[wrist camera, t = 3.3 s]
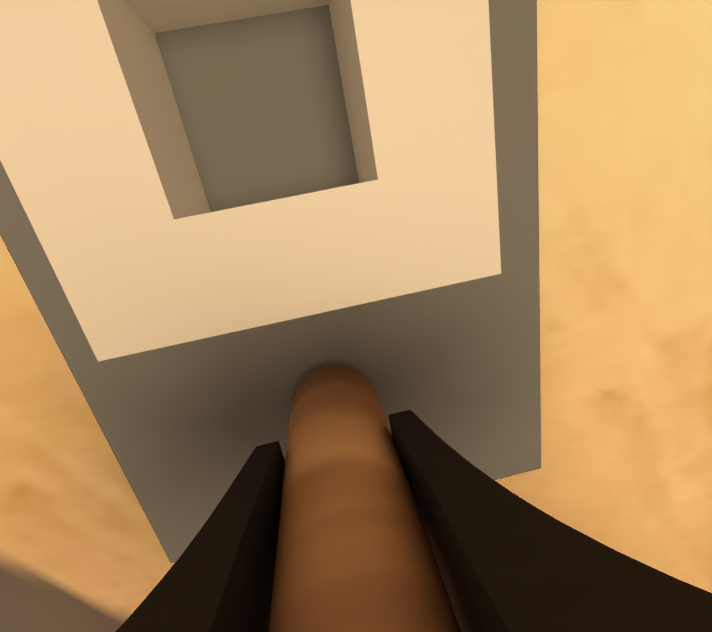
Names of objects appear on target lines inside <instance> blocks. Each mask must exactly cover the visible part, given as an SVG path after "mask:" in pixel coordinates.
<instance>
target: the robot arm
mask: <svg viewBox="0 0 712 632" xmlns="http://www.w3.org/2000/svg"><path fill="white" fill-rule="evenodd" d="M388 417H389V422H390V428H391V433H392V438H393V441H394V443H395V446H396V449H397V452H398V455H399V458H400V461H401V463H402V466H403V469H404V471H405V474H406V477H407V480H408V482H409V485H410V488H411V491H412V494H413V497H414V500H415V502H416V505H417V508H418V511H419V514H420V517H421V519H422V522H423V525H424V528H425V531H426V534H427V536H428V539H429V542H430V545H431V548H432V551H433V553H434V556H435V559H436V562H437V565H438V568H439V570H440V573H441V576H442V579H443V582H444V585H445V588H446V590H447V593H448V596H449V599H450V602H451V605H452V607H453V610H454V613H455V616H456V619H457V622H458V624H459V627H460V630H461V632H712V593H710V592H707V591H705V590H703V589H700V588H698V587H695V586H693V585H690V584H688V583H685V582H683V581H681V580H678V579H676V578H674V577H671V576H669V575H667V574H665V573H663V572H660V571H658V570H656V569H654V568H652V567H650V566H647V565H645V564H643V563H641V562H639V561H637V560H635V559H632V558H630V557H628V556H626V555H624V554H622V553H620V552H618V551H616V550H614V549H612V548H609V547H607V546H606V545H604V544H602V543H600V542H598V541H596V540H594V539H592V538H590V537H588V536H587V535H585V534H583V533H581V532H579V531H577V530H575V529H573V528H571V527H569V526H568V525H566V524H564V523H562V522H560V521H558V520H556V519H555V518H553V517H551V516H550V515H548V514H546V513H544V512H543V511H541V510H539V509H538V508H536V507H534V506H533V505H531V504H530V503H528V502H526V501H525V500H523V499H522V498H520V497H518V496H517V495H515V494H514V493H512V492H511V491H509V490H508V489H506V488H505V487H503V486H502V485H500V484H499V483H498V482H496V481H495V480H493V479H492V478H490V477H489V476H488V475H486V474H485V473H484V472H482V471H481V470H480V469H478V468H477V467H475V466H474V465H473V464H472V463H470V462H469V461H468V460H466V459H465V458H464V457H463V456H462V455H460V454H459V453H458V452H457V451H455V450H454V449H453V448H452V447H451V446H449V445H448V444H447V443H446V442H445V441H444V440H442V439H441V438H440V437H439V436H438V435H437V434H436V433H435V432H434V431H432V430H431V429H430V428H429V427H428V426H427V425H426V424H425V423H424V422H423V421H422V420H421V419H420V418H419V417H418V416H417V415H416V414H415V413H414V412H413V411H411V410H406V411H402V412H398V413H394V414H389V415H388ZM284 468H285V459H284V456H283V453H282V450H281V447H280V443H279V441H276V442H272V443H268V444H264V445H260V446H256V447H255V449H254V450H253V452H252V453H251V455H250V456H249V458H248V459H247V461H246V462H245V464H244V466H243V467H242V469H241V470H240V472H239V473H238V475H237V476H236V478H235V479H234V481H233V483H232V484H231V486H230V487H229V489H228V490H227V492H226V493H225V495H224V496H223V498H222V499H221V501H220V502H219V503H218V505H217V506H216V508H215V509H214V511H213V512H212V514H211V515H210V517H209V518H208V520H207V521H206V522H205V524H204V525H203V526H202V528H201V529H200V530H199V532H198V533H197V535H196V536H195V537H194V539H193V540H192V541H191V543H190V544H189V545H188V547H187V548H186V549H185V551H184V552H183V554H182V555H181V556H180V557H179V559H178V560H177V561H176V562H175V564H174V565H173V566H172V567H171V569H170V570H169V571H168V572H167V574H166V575H165V576H164V577H163V579H162V580H161V581H160V582H159V583H158V584H157V586H156V587H155V588H154V589H153V590H152V591H151V593H150V594H149V595H148V596H147V597H146V599H145V600H144V601H143V602H142V603H141V604H140V606H139V607H138V608H137V609H136V610H135V611H134V612H133V614H132V615H131V616H130V617H129V618H128V619H127V620H126V621H125V622H124V623H123V624H122V625H121V627H120V628H119V629H118V630H117V631H116V632H268V631H269V621H270V611H271V601H272V591H273V580H274V570H275V560H276V550H277V540H278V530H279V519H280V509H281V499H282V489H283V479H284Z"/></svg>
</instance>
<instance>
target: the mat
mask: <svg viewBox="0 0 712 632" xmlns="http://www.w3.org/2000/svg"><path fill="white" fill-rule="evenodd" d="M488 2H489V23H490V44H491V65H492V87H493V108H494V129H495V151H496V172H497V193H498V214H499V236H500V257H501V274H497V275H492V276H488V277H483V278H479V279H474V280H470V281H465V282H460V283H456V284H451V285H447V286H442V287H437V288H433V289H428V290H424V291H419V292H415V293H410V294H405V295H401V296H396V297H392V298H387V299H382V300H378V301H373V302H369V303H364V304H360V305H355V306H350V307H346V308H341V309H337V310H332V311H327V312H323V313H318V314H314V315H309V316H305V317H300V318H295V319H291V320H286V321H282V322H277V323H272V324H268V325H263V326H259V327H254V328H250V329H245V330H240V331H236V332H231V333H227V334H222V335H217V336H213V337H208V338H204V339H199V340H195V341H190V342H185V343H181V344H176V345H172V346H167V347H162V348H158V349H153V350H149V351H144V352H140V353H135V354H130V355H126V356H121V357H117V358H112V359H107V360H103V361H98V360H97V358H96V356H95V354H94V352H93V350H92V348H91V346H90V344H89V342H88V340H87V338H86V336H85V334H84V332H83V330H82V327H81V325H80V323H79V321H78V319H77V317H76V315H75V313H74V311H73V309H72V307H71V305H70V303H69V301H68V299H67V297H66V295H65V292H64V290H63V288H62V286H61V284H60V282H59V280H58V278H57V276H56V274H55V272H54V270H53V268H52V266H51V264H50V262H49V259H48V257H47V255H46V253H45V251H44V249H43V247H42V245H41V243H40V241H39V239H38V237H37V235H36V233H35V231H34V229H33V227H32V224H31V222H30V220H29V218H28V216H27V214H26V212H25V210H24V208H23V206H22V204H21V202H20V200H19V198H18V196H17V194H16V192H15V189H14V187H13V185H12V183H11V181H10V179H9V177H8V175H7V173H6V171H5V169H4V167H3V165H2V163H1V161H0V235H1V237H2V239H3V241H4V243H5V245H6V247H7V249H8V251H9V253H10V255H11V256H12V258H13V260H14V262H15V264H16V266H17V268H18V270H19V272H20V274H21V276H22V278H23V280H24V281H25V283H26V285H27V287H28V289H29V291H30V293H31V295H32V297H33V299H34V301H35V303H36V305H37V306H38V308H39V310H40V312H41V314H42V316H43V318H44V320H45V322H46V324H47V326H48V328H49V330H50V332H51V333H52V335H53V337H54V339H55V341H56V343H57V345H58V347H59V349H60V351H61V353H62V355H63V357H64V358H65V360H66V362H67V364H68V366H69V368H70V370H71V372H72V374H73V376H74V378H75V380H76V382H77V383H78V385H79V387H80V389H81V391H82V393H83V395H84V397H85V399H86V401H87V403H88V405H89V407H90V408H91V410H92V412H93V414H94V416H95V418H96V420H97V422H98V424H99V426H100V428H101V430H102V432H103V433H104V435H105V437H106V439H107V441H108V443H109V445H110V447H111V449H112V451H113V453H114V455H115V457H116V458H117V460H118V462H119V464H120V466H121V468H122V470H123V472H124V474H125V476H126V478H127V480H128V482H129V483H130V485H131V487H132V489H133V491H134V493H135V495H136V497H137V499H138V501H139V503H140V505H141V507H142V508H143V510H144V512H145V514H146V516H147V518H148V520H149V522H150V524H151V526H152V528H153V530H154V532H155V533H156V535H157V537H158V539H159V541H160V543H161V545H162V547H163V549H164V551H165V553H166V555H167V557H168V558H169V560H170V562H171V563H173V562H176V561H177V560H178V559H179V557H180V556H181V555H182V554H183V552H184V551H185V549H186V548H187V547H188V545H189V544H190V543H191V541H192V540H193V539H194V537H195V536H196V535H197V533H198V532H199V530H200V529H201V528H202V526H203V525H204V524H205V522H206V521H207V520H208V518H209V517H210V515H211V514H212V512H213V511H214V509H215V508H216V506H217V505H218V503H219V502H220V501H221V499H222V498H223V496H224V495H225V493H226V492H227V490H228V489H229V487H230V486H231V484H232V483H233V481H234V479H235V478H236V476H237V475H238V473H239V472H240V470H241V469H242V467H243V466H244V464H245V462H246V461H247V459H248V458H249V456H250V455H251V453H252V452H253V450H254V449H255V447H256V446H260V445H264V444H268V443H272V442H276V441H279V443H280V447H281V450H282V453H283V456H284V459H285V458H286V448H287V438H288V428H289V418H290V407H291V399H292V395H293V392H294V390H295V388H296V387H297V385H298V384H299V382H300V381H301V380H302V379H303V378H304V377H305V376H307V375H308V374H309V373H311V372H313V371H315V370H317V369H319V368H322V367H326V366H333V365H341V366H347V367H351V368H354V369H356V370H358V371H360V372H362V373H363V374H365V375H366V376H367V377H368V378H369V379H370V380H371V382H372V383H373V385H374V387H375V389H376V392H377V394H378V397H379V400H380V403H381V406H382V409H383V412H384V414H385V417H386V420H387V423H388V426H389V429H390V431H391V428H390V422H389V417H388V415H389V414H394V413H398V412H402V411H406V410H411V411H413V412H414V413H415V414H416V415H417V416H418V417H419V418H420V419H421V420H422V421H423V422H424V423H425V424H426V425H427V426H428V427H429V428H430V429H431V430H432V431H434V432H435V433H436V434H437V435H438V436H439V437H440V438H441V439H442V440H444V441H445V442H446V443H447V444H448V445H449V446H451V447H452V448H453V449H454V450H455V451H457V452H458V453H459V454H460V455H462V456H463V457H464V458H465V459H466V460H468V461H469V462H470V463H472V464H473V465H474V466H475V467H477V468H478V469H480V470H481V471H482V472H484V473H485V474H486V475H488V476H489V477H490V478H492V479H493V480H497V479H501V478H505V477H508V476H512V475H516V474H520V473H524V472H528V471H532V470H536V469H540V468H541V409H540V306H539V202H538V99H537V0H488ZM155 36H156V40H157V43H158V46H159V49H160V52H161V55H162V59H163V62H164V65H165V68H166V71H167V75H168V78H169V81H170V84H171V87H172V90H173V94H174V97H175V100H176V103H177V106H178V110H179V113H180V116H181V119H182V122H183V126H184V129H185V132H186V135H187V138H188V141H189V145H190V148H191V151H192V154H193V157H194V161H195V164H196V167H197V170H198V173H199V177H200V180H201V183H202V186H203V189H204V192H205V196H206V199H207V202H208V205H209V208H210V212H215V211H220V210H225V209H230V208H235V207H240V206H245V205H251V204H256V203H261V202H266V201H271V200H276V199H281V198H286V197H291V196H296V195H301V194H307V193H312V192H317V191H322V190H327V189H332V188H337V187H342V186H347V185H352V184H357V183H359V179H358V173H357V168H356V162H355V156H354V150H353V144H352V138H351V133H350V127H349V121H348V115H347V109H346V103H345V98H344V92H343V86H342V80H341V74H340V68H339V63H338V57H337V51H336V45H335V39H334V33H333V28H332V22H331V16H330V10H329V5H324V6H318V7H312V8H306V9H300V10H294V11H288V12H282V13H275V14H269V15H263V16H257V17H251V18H245V19H239V20H233V21H226V22H220V23H214V24H208V25H202V26H196V27H190V28H184V29H177V30H171V31H165V32H159V33H155ZM391 434H392V433H391Z"/></svg>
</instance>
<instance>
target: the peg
mask: <svg viewBox="0 0 712 632" xmlns="http://www.w3.org/2000/svg"><path fill="white" fill-rule="evenodd" d="M268 632H461V630H460V627H459V624H458V622H457V619H456V616H455V613H454V610H453V607H452V605H451V602H450V599H449V596H448V593H447V590H446V588H445V585H444V582H443V579H442V576H441V573H440V570H439V568H438V565H437V562H436V559H435V556H434V553H433V551H432V548H431V545H430V542H429V539H428V536H427V534H426V531H425V528H424V525H423V522H422V519H421V517H420V514H419V511H418V508H417V505H416V502H415V500H414V497H413V494H412V491H411V488H410V485H409V482H408V480H407V477H406V474H405V471H404V469H403V466H402V463H401V461H400V458H399V455H398V452H397V449H396V446H395V443H394V441H393V438H392V434H391V431H390V429H389V426H388V423H387V420H386V417H385V414H384V412H383V409H382V406H381V403H380V400H379V397H378V394H377V392H376V389H375V387H374V385H373V383H372V382H371V380H370V379H369V378H368V377H367V376H366V375H365V374H363V373H362V372H360V371H358V370H356V369H354V368H351V367H347V366H341V365H333V366H326V367H322V368H319V369H317V370H315V371H313V372H311V373H309V374H308V375H307V376H305V377H304V378H303V379H302V380H301V381H300V382H299V384H298V385H297V387H296V388H295V390H294V392H293V395H292V399H291V407H290V418H289V428H288V438H287V448H286V458H285V468H284V479H283V489H282V499H281V509H280V519H279V530H278V540H277V550H276V560H275V570H274V580H273V591H272V601H271V611H270V621H269V631H268Z"/></svg>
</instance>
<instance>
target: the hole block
mask: <svg viewBox="0 0 712 632" xmlns="http://www.w3.org/2000/svg"><path fill="white" fill-rule="evenodd" d="M324 5H329V10H330V16H331V22H332V28H333V33H334V39H335V45H336V51H337V57H338V63H339V68H340V74H341V80H342V86H343V92H344V98H345V103H346V109H347V115H348V121H349V127H350V133H351V138H352V144H353V150H354V156H355V162H356V168H357V173H358V179H359V183H357V184H352V185H347V186H342V187H337V188H332V189H327V190H322V191H317V192H312V193H307V194H301V195H296V196H291V197H286V198H281V199H276V200H271V201H266V202H261V203H256V204H251V205H245V206H240V207H235V208H230V209H225V210H220V211H215V212H210V208H209V205H208V202H207V199H206V196H205V192H204V189H203V186H202V183H201V180H200V177H199V173H198V170H197V167H196V164H195V161H194V157H193V154H192V151H191V148H190V145H189V141H188V138H187V135H186V132H185V129H184V126H183V122H182V119H181V116H180V113H179V110H178V106H177V103H176V100H175V97H174V94H173V90H172V87H171V84H170V81H169V78H168V75H167V71H166V68H165V65H164V62H163V59H162V55H161V52H160V49H159V46H158V43H157V40H156V36H155V33H159V32H165V31H171V30H177V29H184V28H190V27H196V26H202V25H208V24H214V23H220V22H226V21H233V20H239V19H245V18H251V17H257V16H263V15H269V14H275V13H282V12H288V11H294V10H300V9H306V8H312V7H318V6H324ZM0 161H1V163H2V165H3V167H4V169H5V171H6V173H7V175H8V177H9V179H10V181H11V183H12V185H13V187H14V189H15V192H16V194H17V196H18V198H19V200H20V202H21V204H22V206H23V208H24V210H25V212H26V214H27V216H28V218H29V220H30V222H31V224H32V227H33V229H34V231H35V233H36V235H37V237H38V239H39V241H40V243H41V245H42V247H43V249H44V251H45V253H46V255H47V257H48V259H49V262H50V264H51V266H52V268H53V270H54V272H55V274H56V276H57V278H58V280H59V282H60V284H61V286H62V288H63V290H64V292H65V295H66V297H67V299H68V301H69V303H70V305H71V307H72V309H73V311H74V313H75V315H76V317H77V319H78V321H79V323H80V325H81V327H82V330H83V332H84V334H85V336H86V338H87V340H88V342H89V344H90V346H91V348H92V350H93V352H94V354H95V356H96V358H97V360H98V361H103V360H107V359H112V358H117V357H121V356H126V355H130V354H135V353H140V352H144V351H149V350H153V349H158V348H162V347H167V346H172V345H176V344H181V343H185V342H190V341H195V340H199V339H204V338H208V337H213V336H217V335H222V334H227V333H231V332H236V331H240V330H245V329H250V328H254V327H259V326H263V325H268V324H272V323H277V322H282V321H286V320H291V319H295V318H300V317H305V316H309V315H314V314H318V313H323V312H327V311H332V310H337V309H341V308H346V307H350V306H355V305H360V304H364V303H369V302H373V301H378V300H382V299H387V298H392V297H396V296H401V295H405V294H410V293H415V292H419V291H424V290H428V289H433V288H437V287H442V286H447V285H451V284H456V283H460V282H465V281H470V280H474V279H479V278H483V277H488V276H492V275H497V274H501V257H500V236H499V214H498V193H497V172H496V151H495V129H494V108H493V87H492V65H491V44H490V23H489V2H488V0H0Z"/></svg>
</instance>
